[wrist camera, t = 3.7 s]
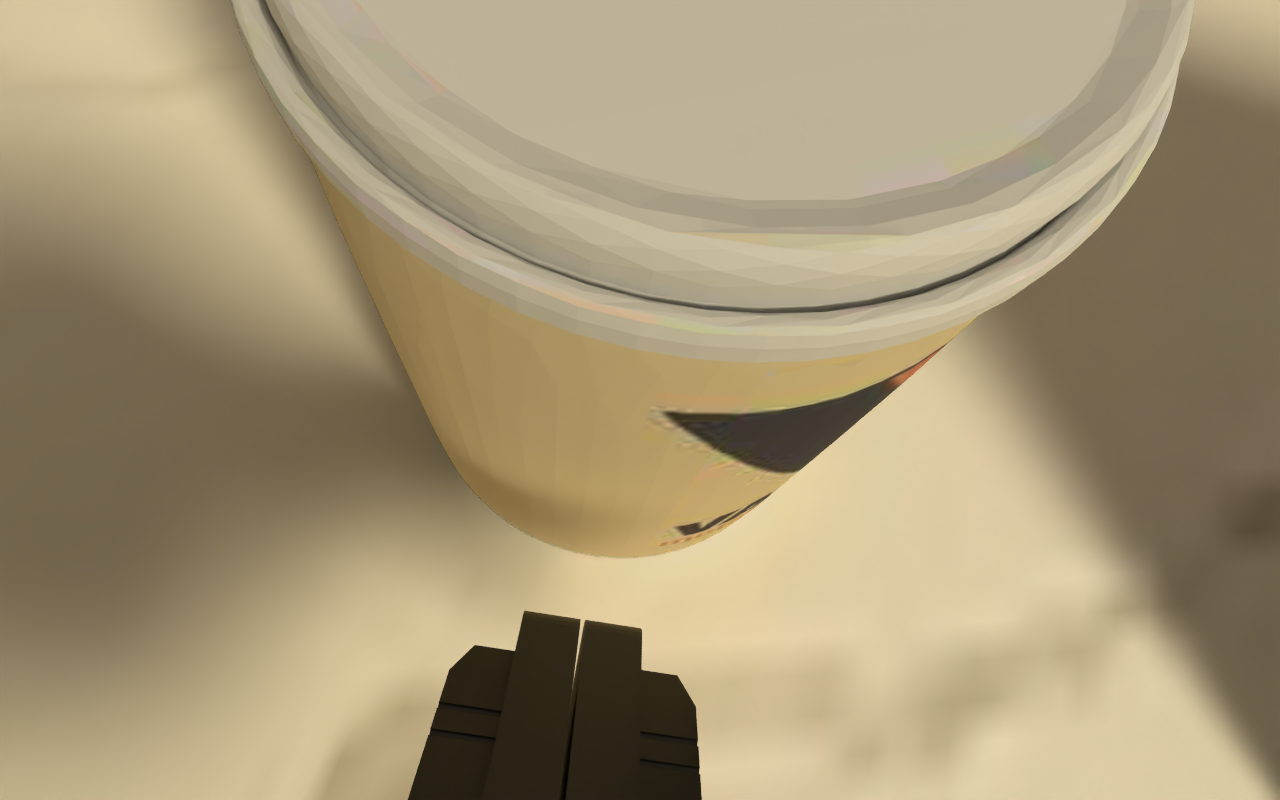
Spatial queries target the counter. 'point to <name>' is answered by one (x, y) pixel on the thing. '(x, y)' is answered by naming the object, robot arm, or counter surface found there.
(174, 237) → the counter surface
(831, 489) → the counter surface
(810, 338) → the coffee cup
